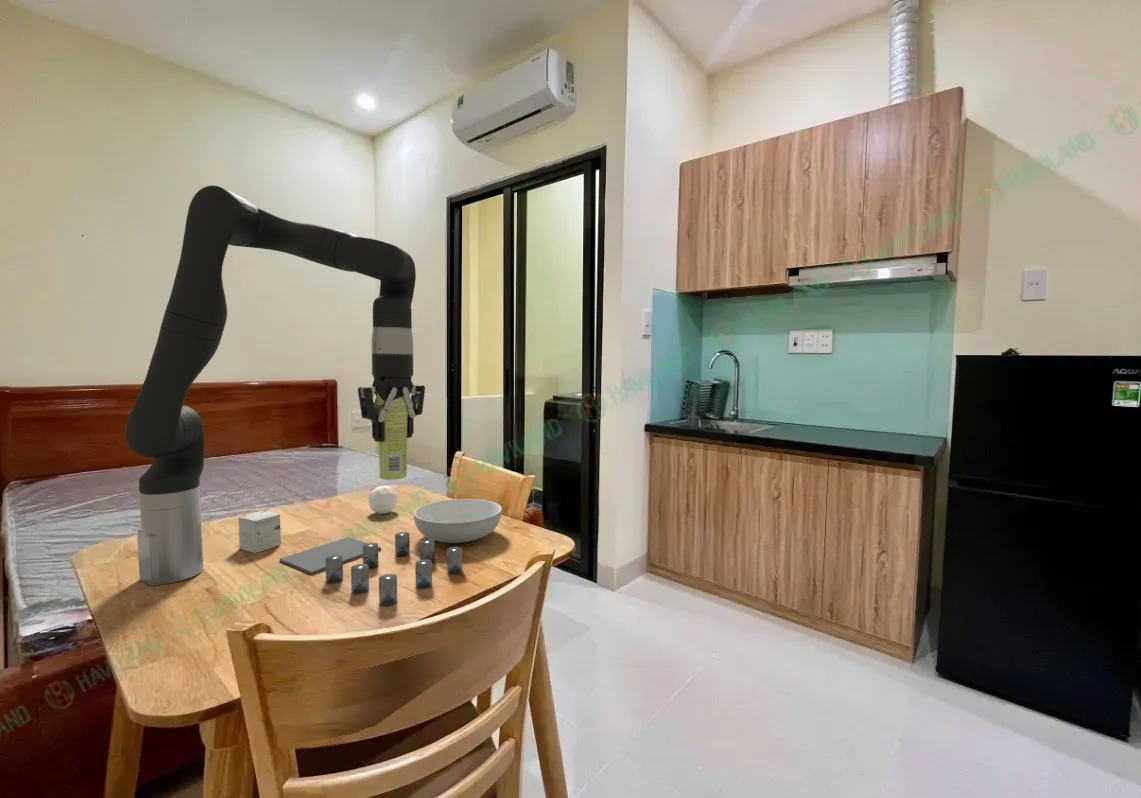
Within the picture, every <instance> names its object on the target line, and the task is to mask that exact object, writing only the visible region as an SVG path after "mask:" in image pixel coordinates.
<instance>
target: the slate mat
mask: <svg viewBox="0 0 1141 798" xmlns="http://www.w3.org/2000/svg"><path fill="white" fill-rule="evenodd" d="M366 543H367V542H365V541H363V540H360V539H356V538H354V537H353V538H352V537H350V536H347V537H344V538H341V539H337V540H334V541H332V542H328V543H325V544H322V545H319V546H315V547H312V548H308V549H305V550H303V551H299V552H297V553H293V554H290V555H286V556H284V557H280V558H279V562H280V563H282V564H285V565H288V566H289V567H292V568H294V569H298V570H300V571H302V572H305V573H307V574H309V575H315V574H318V573H321V572H324V571H326V560H325V559H326V557H328V556H331V555H342V556H343V564H346V563H349V562H351V561H355V560H357V559H360V558H363V547H362V546H363V545H364V544H366ZM381 550H382V547H381V546H378V552H379V551H381Z"/></svg>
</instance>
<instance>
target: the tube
mask: <svg viewBox="0 0 1141 798" xmlns="http://www.w3.org/2000/svg"><path fill="white" fill-rule="evenodd" d="M375 385H376V383H375ZM376 392H377V391H376ZM384 402H385V401H384V400H382V399H381V397H380V396H379V394H378V392H377V405H383V404H384ZM379 411H380V409H378V414H379ZM407 416H408V410H407V406H406V404H405V401H404V399H403V397H400V398H398V399H395V400H393V401H392V404H391V406H390V409H389V411H387V412H386V415H385V418H384V420H383V422H384V431H385V440H384V441H383V442H378V449H379V450H378V451H379V454H378V455H379V456H378V457H379V459H378V460H379V478H380V480H381V479H382V480H384V481H387V480H388V481H392V480H400V479H405V478H407V474H408V473H407V471H408V469H407V468H408V467H407V461H408V460H407V459H408V456H407V455H408V449H407V447H408V445H407V444H408V438H407Z"/></svg>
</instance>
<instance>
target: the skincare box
mask: <svg viewBox="0 0 1141 798" xmlns="http://www.w3.org/2000/svg"><path fill="white" fill-rule="evenodd" d="M281 533H282V532H281V514H280V513H278V512H272V511H268V510H262V511H258V512H254V513H250V514H247V515H243V516H239V517H238V540H239V541H238V543H239V545H238V546H239V549H240V550H243V551H245V552H249V553H250V552H251V553H252V554H257V553H261V552H263V551H266V550H270V549H273V548H276V547H280V546H281V545H282V537H281V536H282V534H281Z"/></svg>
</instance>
